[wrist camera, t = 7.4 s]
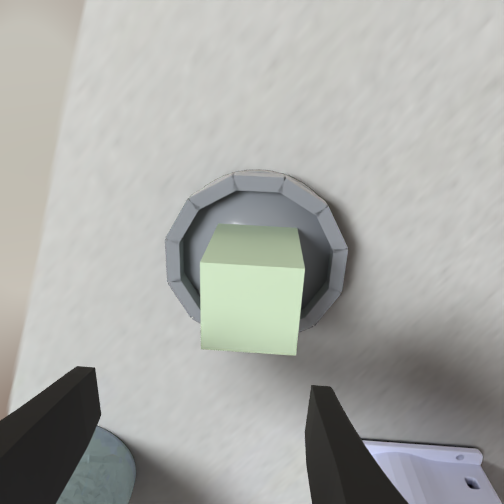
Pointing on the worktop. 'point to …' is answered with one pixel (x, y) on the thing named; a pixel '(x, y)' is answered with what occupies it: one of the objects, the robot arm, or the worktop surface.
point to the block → (251, 289)
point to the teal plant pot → (102, 473)
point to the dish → (259, 214)
